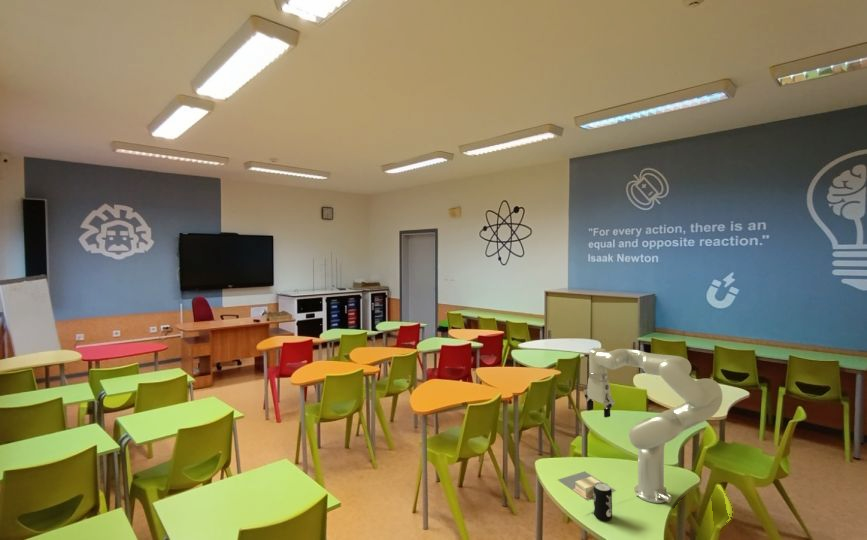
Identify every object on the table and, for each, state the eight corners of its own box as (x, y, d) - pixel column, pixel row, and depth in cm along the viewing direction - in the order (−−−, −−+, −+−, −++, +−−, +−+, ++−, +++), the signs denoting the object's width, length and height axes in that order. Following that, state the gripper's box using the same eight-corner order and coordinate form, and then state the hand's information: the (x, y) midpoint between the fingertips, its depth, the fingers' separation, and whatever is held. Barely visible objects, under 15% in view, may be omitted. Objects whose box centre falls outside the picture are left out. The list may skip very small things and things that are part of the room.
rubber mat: (616, 492, 180) (616, 490, 180) (587, 501, 173) (587, 500, 173) (584, 472, 196) (584, 470, 196) (557, 481, 190) (557, 479, 190)
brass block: (585, 496, 176) (585, 488, 175) (575, 489, 181) (575, 481, 181) (602, 491, 179) (602, 483, 179) (591, 484, 185) (591, 476, 185)
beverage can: (602, 524, 159) (602, 492, 159) (589, 514, 165) (589, 484, 165) (616, 519, 162) (615, 488, 161) (602, 510, 168) (602, 480, 167)
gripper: (620, 379, 187) (620, 418, 187) (589, 370, 202) (590, 405, 203) (607, 382, 183) (607, 421, 184) (577, 372, 199) (578, 408, 200)
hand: (598, 413), depth 193 cm, fingers open, 9 cm apart
